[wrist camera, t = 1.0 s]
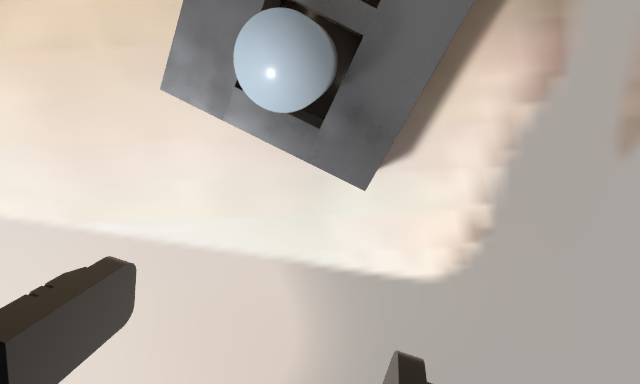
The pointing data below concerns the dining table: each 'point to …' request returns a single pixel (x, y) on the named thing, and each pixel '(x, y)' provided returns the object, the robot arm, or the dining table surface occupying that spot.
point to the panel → (353, 94)
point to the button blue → (284, 60)
